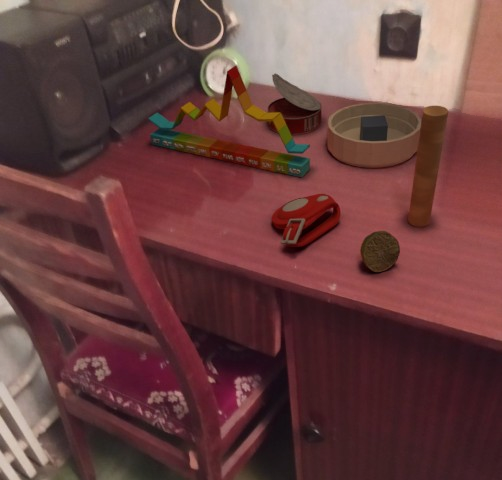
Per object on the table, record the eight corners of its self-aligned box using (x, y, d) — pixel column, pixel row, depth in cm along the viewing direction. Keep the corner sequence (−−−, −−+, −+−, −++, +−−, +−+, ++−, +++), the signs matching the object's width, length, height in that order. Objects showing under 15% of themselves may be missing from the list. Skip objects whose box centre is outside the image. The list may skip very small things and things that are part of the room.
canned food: (286, 135, 115) (295, 80, 112) (327, 142, 110) (339, 85, 106) (248, 127, 107) (258, 69, 104) (291, 135, 101) (303, 73, 98)
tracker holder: (261, 206, 86) (323, 179, 86) (271, 232, 89) (332, 206, 88) (278, 234, 76) (349, 204, 76) (289, 263, 78) (358, 233, 78)
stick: (424, 213, 84) (441, 103, 73) (433, 224, 82) (452, 113, 71) (404, 217, 84) (419, 107, 73) (413, 228, 82) (429, 117, 71)
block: (383, 137, 101) (385, 115, 98) (385, 148, 98) (388, 125, 95) (359, 138, 101) (360, 116, 98) (361, 149, 98) (363, 126, 95)
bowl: (410, 125, 105) (413, 100, 101) (425, 166, 94) (429, 140, 91) (325, 129, 106) (325, 104, 103) (330, 171, 95) (330, 144, 92)
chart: (151, 145, 106) (134, 58, 96) (161, 137, 108) (146, 52, 98) (301, 178, 94) (300, 83, 83) (309, 169, 96) (310, 75, 85)
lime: (401, 262, 76) (406, 230, 73) (382, 281, 74) (385, 248, 70) (372, 250, 79) (375, 219, 75) (352, 268, 76) (354, 236, 73)
